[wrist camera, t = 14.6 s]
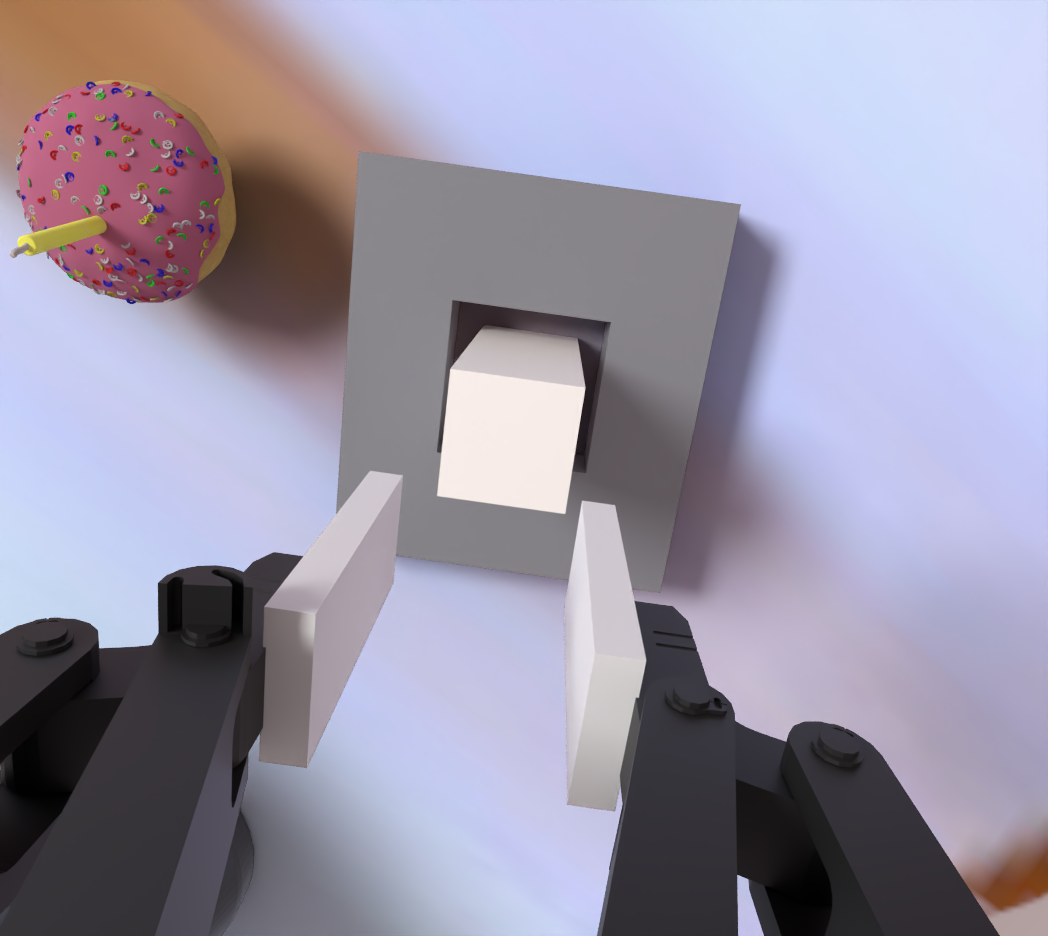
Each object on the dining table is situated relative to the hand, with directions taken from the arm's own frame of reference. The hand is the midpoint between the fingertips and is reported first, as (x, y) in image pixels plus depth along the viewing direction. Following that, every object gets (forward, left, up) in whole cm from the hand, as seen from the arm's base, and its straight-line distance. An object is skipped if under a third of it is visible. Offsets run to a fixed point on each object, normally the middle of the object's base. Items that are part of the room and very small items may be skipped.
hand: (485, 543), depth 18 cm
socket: (0, 0, -21) cm, 21 cm away
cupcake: (+6, +17, -21) cm, 28 cm away
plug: (0, 0, -21) cm, 21 cm away
